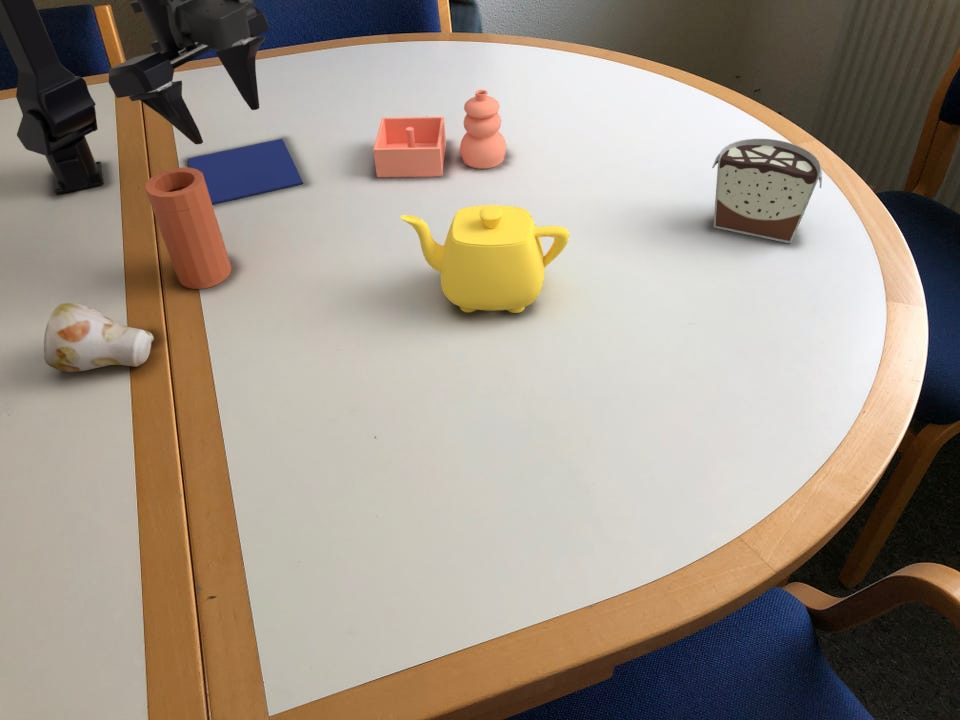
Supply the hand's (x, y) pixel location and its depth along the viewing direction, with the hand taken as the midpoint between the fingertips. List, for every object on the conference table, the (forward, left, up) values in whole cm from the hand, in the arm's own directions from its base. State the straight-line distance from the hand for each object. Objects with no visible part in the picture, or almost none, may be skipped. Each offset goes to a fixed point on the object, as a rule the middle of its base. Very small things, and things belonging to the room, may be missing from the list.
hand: (228, 126), depth 90 cm
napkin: (-18, +1, -15) cm, 24 cm away
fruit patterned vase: (+16, -19, -16) cm, 29 cm away
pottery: (-9, +28, -16) cm, 34 cm away
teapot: (+22, +22, -16) cm, 35 cm away
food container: (+23, +58, -16) cm, 64 cm away
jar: (+4, -7, -15) cm, 18 cm away
